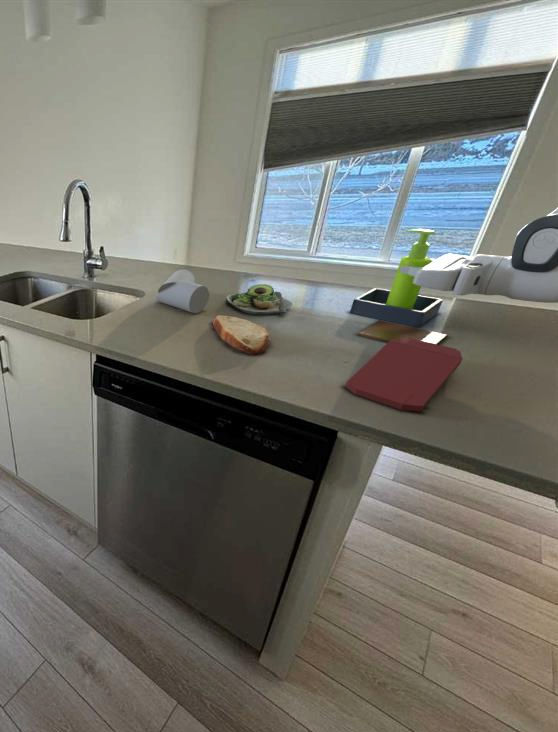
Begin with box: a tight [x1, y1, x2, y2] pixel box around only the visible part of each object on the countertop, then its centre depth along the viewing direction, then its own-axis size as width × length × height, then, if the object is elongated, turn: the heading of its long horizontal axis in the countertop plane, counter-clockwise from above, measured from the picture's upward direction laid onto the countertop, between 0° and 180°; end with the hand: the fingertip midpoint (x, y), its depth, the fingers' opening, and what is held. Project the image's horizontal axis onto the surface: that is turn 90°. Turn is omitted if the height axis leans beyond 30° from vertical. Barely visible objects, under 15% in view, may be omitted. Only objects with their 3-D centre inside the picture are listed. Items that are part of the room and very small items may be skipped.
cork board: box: [357, 319, 448, 345], centre depth 99 cm, size 14×12×1 cm
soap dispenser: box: [386, 228, 436, 309], centre depth 105 cm, size 6×7×20 cm
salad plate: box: [225, 283, 294, 316], centre depth 122 cm, size 19×18×5 cm
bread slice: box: [212, 315, 272, 355], centre depth 105 cm, size 18×18×4 cm
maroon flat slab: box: [345, 338, 463, 412], centre depth 82 cm, size 12×5×25 cm
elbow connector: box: [155, 269, 210, 314], centre depth 130 cm, size 18×11×20 cm
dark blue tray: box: [349, 287, 444, 328], centre depth 110 cm, size 16×14×4 cm
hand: (406, 265), depth 105 cm, fingers closed on soap dispenser, 6 cm apart
